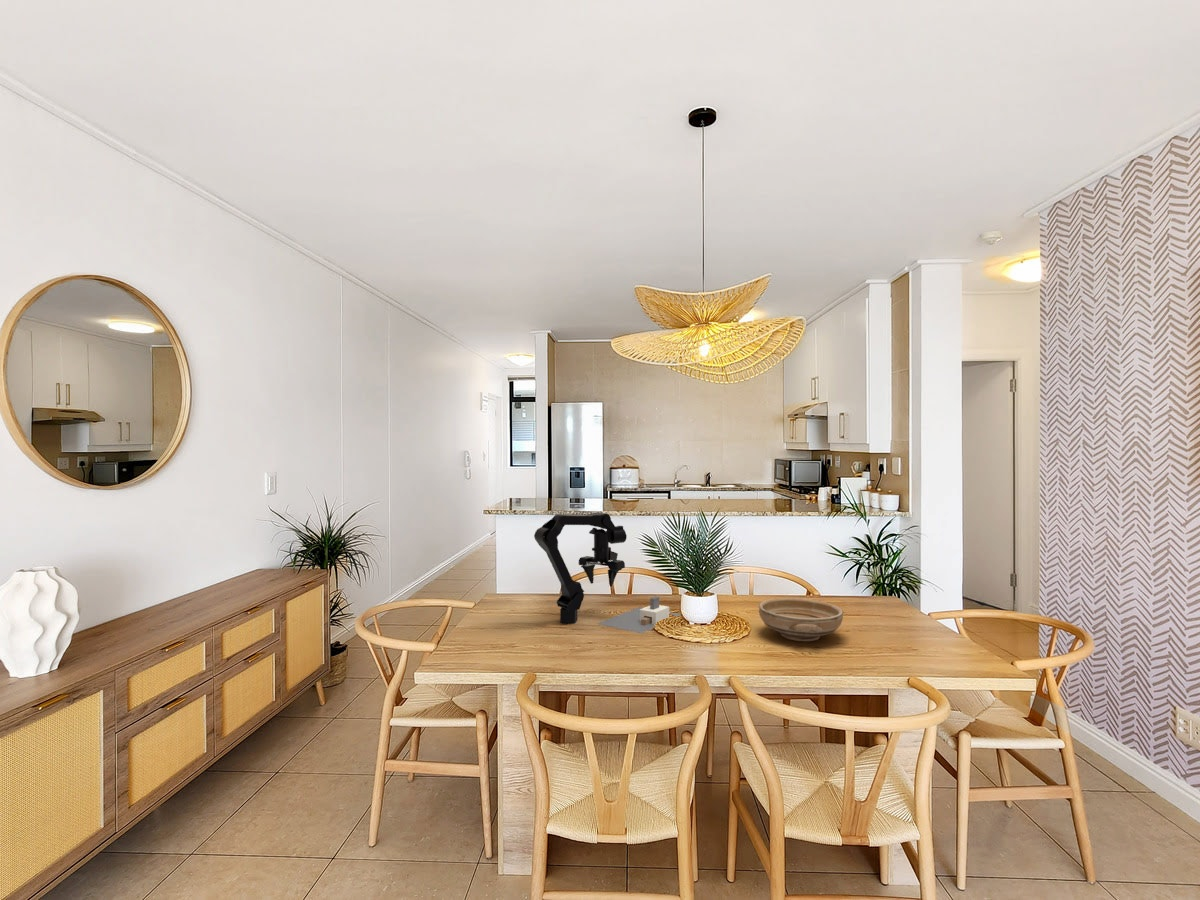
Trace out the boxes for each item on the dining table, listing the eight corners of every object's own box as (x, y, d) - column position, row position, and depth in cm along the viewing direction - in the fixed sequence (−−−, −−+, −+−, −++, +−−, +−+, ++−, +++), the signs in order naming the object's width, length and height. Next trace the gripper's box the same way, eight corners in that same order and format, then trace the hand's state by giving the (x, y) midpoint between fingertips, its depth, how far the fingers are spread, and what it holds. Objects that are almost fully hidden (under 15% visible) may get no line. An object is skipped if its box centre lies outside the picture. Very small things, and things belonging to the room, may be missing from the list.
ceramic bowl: (854, 655, 195) (854, 624, 195) (762, 650, 201) (762, 620, 201) (832, 623, 232) (832, 596, 232) (754, 619, 237) (754, 593, 237)
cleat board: (641, 636, 216) (641, 627, 216) (596, 626, 228) (596, 618, 228) (682, 617, 240) (682, 609, 240) (639, 609, 252) (639, 602, 252)
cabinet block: (655, 624, 227) (655, 601, 227) (639, 621, 231) (639, 598, 231) (669, 618, 235) (669, 596, 235) (653, 615, 239) (653, 593, 239)
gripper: (632, 544, 240) (632, 584, 240) (594, 540, 251) (594, 578, 251) (616, 548, 231) (616, 589, 231) (577, 543, 242) (577, 583, 242)
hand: (601, 584), depth 239 cm, fingers open, 9 cm apart
